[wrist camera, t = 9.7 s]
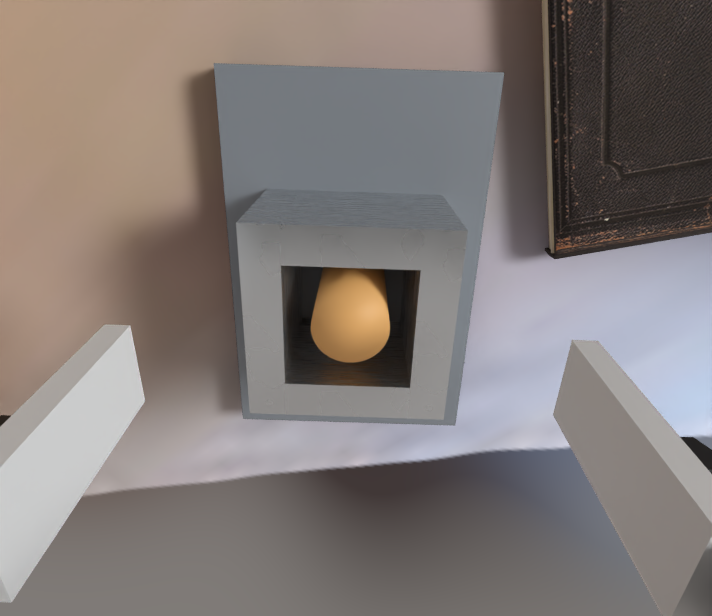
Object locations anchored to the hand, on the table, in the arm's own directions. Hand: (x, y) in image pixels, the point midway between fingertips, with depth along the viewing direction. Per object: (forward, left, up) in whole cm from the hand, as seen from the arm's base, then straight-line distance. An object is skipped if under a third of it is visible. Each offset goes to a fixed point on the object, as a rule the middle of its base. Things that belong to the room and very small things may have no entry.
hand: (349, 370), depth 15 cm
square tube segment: (+1, 0, -10) cm, 10 cm away
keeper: (0, 0, -11) cm, 11 cm away
